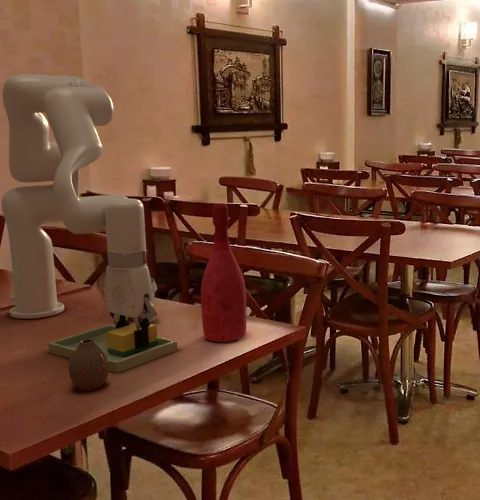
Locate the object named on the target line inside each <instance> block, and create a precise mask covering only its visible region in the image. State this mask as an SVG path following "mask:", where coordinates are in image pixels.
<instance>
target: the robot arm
mask: <svg viewBox="0 0 480 500" xmlns="http://www.w3.org/2000/svg"><path fill="white" fill-rule="evenodd" d="M2 103H3V108H4V110H5V113H6V116H7V120H8V168H9V173H10V175H11V177H12V178H13V179H14V180H15V181H17V182H19V183H27V184H29V183H44V182H45V183H46V182H53V184H41V185H40V184H38V185H37V184H36V185H25V186H23V185H22V186H17V187H14V188H11V189H8V190H7V191H6V192H5V193H4V194H3V195H2V197H1V203H0V205H1V211H2V215H3V217H4V222H5V224H6V229H7V233H8V234H7V235H8V241H9V249H10V259H11V267H12V268H11V269H12V280H13V289H14V291H13V292H14V293H13V294H12V295H10V301H13V302H14V306H12V307H11V308H10V309H9V311H8V312H9V316H10V317H11V318H15V319H21V320H29V319H30V320H31V319H41V318H48V317H51V316H55V315H58V314H60V313H62V312H64V310H65V304H64V303H62V302H60V301H58V295H57V284H56V283H57V281H56V271H55V259H54V258H55V257H54V249H53V248H54V247H53V242H52V239H51V237H50V236H49V234H48V233H47V232H46V231H45V230H44V229H43V228H42V227H41V226H42V225H45V224H51V223H61V222H62V223H63V225H64V226H65V228H66V229H67V230H68V231H69V232H70V233H72V234H74V235H87V234H94V233H101V232H105V233H106V249H107V263H108V264H107V265H106V269H105V274H104V275H105V276H104V305H105V306H104V307H105V309H106V311H107V312H108V313H109V315H110V317H111V318H112V323H113V325H114V326H116V329H118V328H121V327H124V326H128V325H130V324H129V322H127V318H128V317H133V318H134V322H135V325H136V330H134V334H135V348H137V349H139V348H142V347H145V346H148V345H149V333H148V327H150V324H151V323H152V321H153V320H154V321H155V319H156V318H157V317H158V313H157V311H156V309H155V306H154V307H153V293H152V285H151V279H150V278H151V275H150V274H151V273H150V270H149V266H148V261H147V260H148V259H147V243H146V240H147V239H146V224H145V207H144V204H143V202H142V201H141V200H140V199H137V198H128V197H127V196H126V195H123V194H118V193H117V194H105V195H102V194H101V195H100V194H99V195H92V196H91V195H90V196H81V197H80V179H81V178H80V177H81V169H83V168H85V167H87V166H89V165H91V164H92V163H94V162H95V161H97V160H98V159H99V158H100V157H101V155H102V154H103V151H104V147H103V144H102V142H101V139H100V137H99V134H98V131H97V129H96V127H103V126H107V125H110V123H111V121H113V118H114V114H115V113H114V111H115V110H114V109H115V108H114V103H113V101H112V99H111V97H110V95H109V94H108V93H107V91H106V90H105V89H103V88H102V87H100V86H98V85H96V84H95V83H94V82H93V83H92V82H91V81H89V80H87V79H85V78H82V77H80V76H74V75H57V74H56V75H55V74H37V73H35V74H33V73H27V74H26V73H24V74H23V73H22V74H15V75H11V76H10V77H8V78H7V79H6V80H5V82H4V84H3V87H2ZM43 114H45V115H46V117H45V115H43ZM46 118H47V119H46ZM50 129H51V132H52V134H53V137H54V139H55V141H50ZM139 317H143V320H142V321H141V322H140V318H139ZM152 324H153V323H152Z"/></svg>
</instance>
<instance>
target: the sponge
mask: <svg viewBox="0 0 480 500" xmlns="http://www.w3.org/2000/svg"><path fill="white" fill-rule="evenodd" d="M140 322H141V321H140ZM134 330H136V325H135V323H134V324H131V325H128V326H124V327H121V328H118V329H115V330H112V331H109V332H106V336H107V350H108V353H112V354H115V355H119V356H122V357H125V356H128V355H130V354H133V353H136V352H139V351H141V350H144V349H147V348H150V347H153V346H155V345H158V343H157V336H158V329H157V324H153V323H152V324H150V327H148V333H149V345H148V346H145V347H142V348H139V349H137V348H135V334H134Z"/></svg>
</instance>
